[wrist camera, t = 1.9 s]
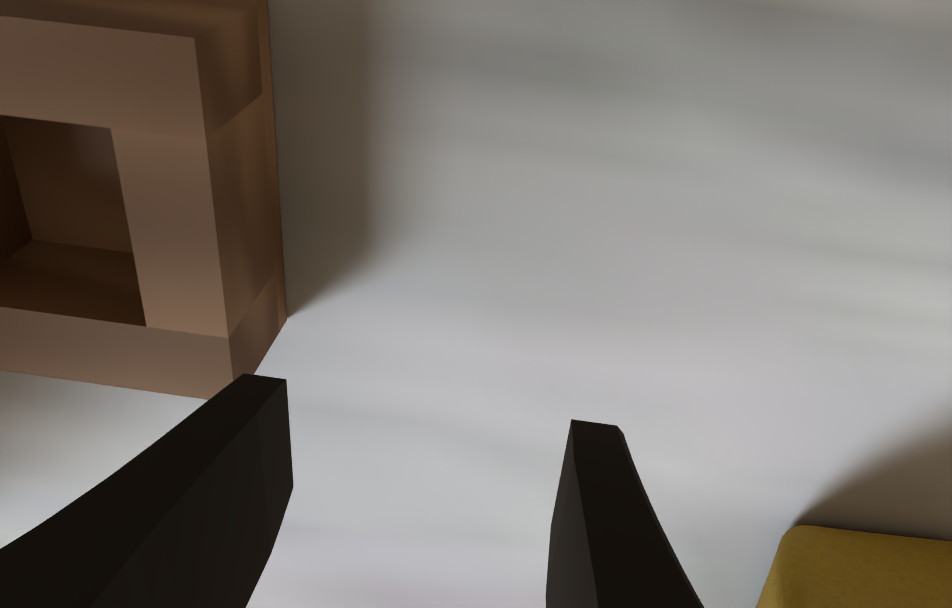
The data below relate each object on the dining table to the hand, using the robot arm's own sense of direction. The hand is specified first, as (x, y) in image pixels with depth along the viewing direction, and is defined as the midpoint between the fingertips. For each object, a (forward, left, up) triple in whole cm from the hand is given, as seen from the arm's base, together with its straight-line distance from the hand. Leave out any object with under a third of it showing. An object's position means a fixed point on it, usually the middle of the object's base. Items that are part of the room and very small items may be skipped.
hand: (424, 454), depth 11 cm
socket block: (0, +9, -8) cm, 12 cm away
